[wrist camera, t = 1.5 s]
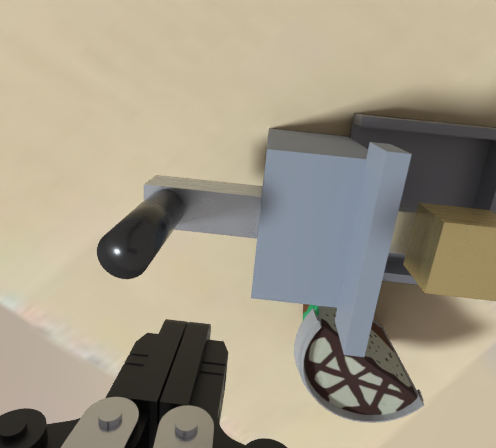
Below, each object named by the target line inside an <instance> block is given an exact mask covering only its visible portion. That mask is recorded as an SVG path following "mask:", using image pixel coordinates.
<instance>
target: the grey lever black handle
mask: <svg viewBox="0 0 496 448" xmlns="http://www.w3.org/2000/svg"><path fill="white" fill-rule="evenodd" d="M262 192H263V186H255V185H246V184H236V183H227V182H217V181H208V180H198V179H189V178H179V177H170V176H160V175H156V176H155V177H153V178H152V179H151V180H149V181H148V182H146V183H145V184H144V201H143V202H142V203H141V204H140V205H139V206H138V207H136V208H135V209H134V210H133V211H132V212H131V213H130V214H128V215H127V216H126V217H125V218H124V219H123V220H122V221H120V222H119V223H118V224H117V225H116V226H115V227H114V228H112V229H111V230H110V231H109V232H108V233H107V234H106V235H104V236H103V237H102V238H101V240H100V242H99V244H98V247H97V256H98V260H99V262H100V264H101V265H102V267H103V268H104V269H105V270H106V271H107V272H108V273H110V274H111V275H113V276H115V277H118V278H122V279H131V278H135V277H137V276H139V275H141V274H142V273H143V272H144V271H145V270H146V268H147V267H148V265H149V264H150V263H151V261H152V260H153V258H154V257H155V255H156V254H157V253H158V251H159V250H160V248H161V247H162V246H163V244H164V243H165V241H166V240H167V238H168V237H169V236H170V234H171V233H172V231H173V230H184V231H193V232H202V233H211V234H220V235H229V236H239V237H248V238H257V239H258V229H259V220H260V211H261V202H262ZM418 204H419V203H416V202H407V201H401V202H400V206H399V211H398V215H397V219H396V224H395V228H394V232H393V236H392V241H391V245H390V249H389V253H395V254H404V255H406V252H407V248H408V244H409V240H410V236H411V232H412V228H413V224H414V220H415V216H416V212H417V208H418ZM489 211H491V212H493V213H495V214H496V211H492V210H489Z"/></svg>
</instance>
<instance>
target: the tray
mask: <svg viewBox="0 0 496 448" xmlns="http://www.w3.org/2000/svg"><path fill="white" fill-rule="evenodd" d="M350 138H351V139H352V140H354V141H356V142H357V143H359V144H360V145H362V146H363V147H365V148H367V149H368V148H369V143H370V142H375V143H385V144H391V145H394V146H396V147H398V148H400V149H402V150H404V151H406V152H408V153H411V154H412V155H411V159H410V164H409V168H408V172H407V176H406V181H405V185H404V189H403V194H402V198H401V201H407V202H416V203H429V204H438V205H448V206H457V207H467V208H476V209H486V210H492V211H496V127H486V126H476V125H466V124H456V123H446V122H436V121H426V120H416V119H406V118H396V117H386V116H376V115H366V114H356V113H354V116H353V121H352V127H351V133H350ZM405 256H406V255H404V254H395V253H389V254H388V258H387V262H386V266H385V271H384V275H383V279H382V281H390V282H399V283H408V284H417V282H416V281H415V280H414V278H413V277H412V276H411V274H410V273H409V271H408V270H407V269H406V267H405V266H404V265H403V264H404V260H405ZM417 285H418V284H417Z"/></svg>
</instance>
